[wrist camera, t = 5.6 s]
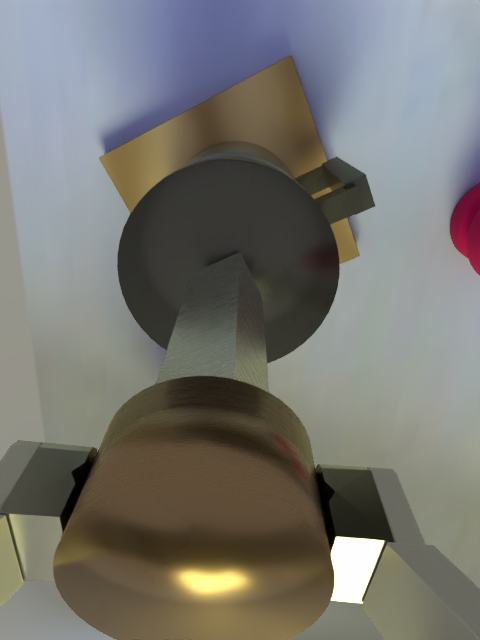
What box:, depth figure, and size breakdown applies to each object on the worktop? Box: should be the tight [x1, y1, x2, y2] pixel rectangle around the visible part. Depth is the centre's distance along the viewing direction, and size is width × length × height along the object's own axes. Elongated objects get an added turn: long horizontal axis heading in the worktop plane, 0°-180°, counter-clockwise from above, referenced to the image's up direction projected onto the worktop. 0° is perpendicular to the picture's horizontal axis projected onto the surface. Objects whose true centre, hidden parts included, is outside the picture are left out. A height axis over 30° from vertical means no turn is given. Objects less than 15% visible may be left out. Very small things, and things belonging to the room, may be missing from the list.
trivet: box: [99, 55, 360, 264], centre depth 30 cm, size 14×14×2 cm
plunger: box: [53, 252, 335, 640], centre depth 12 cm, size 4×4×12 cm
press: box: [118, 141, 375, 363], centre depth 19 cm, size 12×10×22 cm
